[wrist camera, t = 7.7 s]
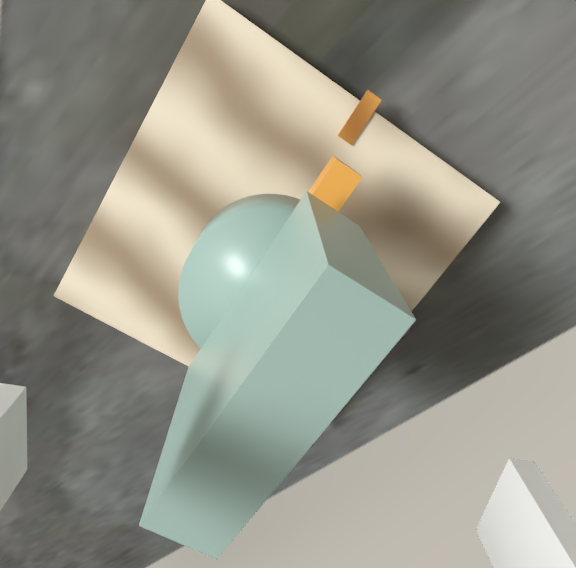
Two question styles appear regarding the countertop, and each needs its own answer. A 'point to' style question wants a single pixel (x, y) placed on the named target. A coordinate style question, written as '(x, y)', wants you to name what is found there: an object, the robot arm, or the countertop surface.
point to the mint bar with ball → (268, 353)
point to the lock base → (257, 178)
